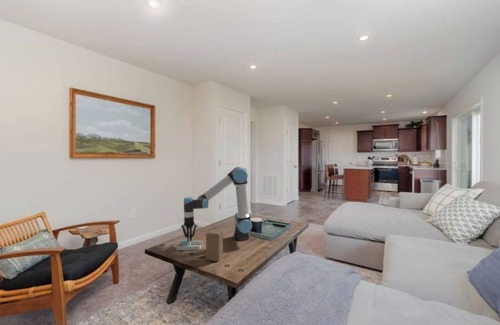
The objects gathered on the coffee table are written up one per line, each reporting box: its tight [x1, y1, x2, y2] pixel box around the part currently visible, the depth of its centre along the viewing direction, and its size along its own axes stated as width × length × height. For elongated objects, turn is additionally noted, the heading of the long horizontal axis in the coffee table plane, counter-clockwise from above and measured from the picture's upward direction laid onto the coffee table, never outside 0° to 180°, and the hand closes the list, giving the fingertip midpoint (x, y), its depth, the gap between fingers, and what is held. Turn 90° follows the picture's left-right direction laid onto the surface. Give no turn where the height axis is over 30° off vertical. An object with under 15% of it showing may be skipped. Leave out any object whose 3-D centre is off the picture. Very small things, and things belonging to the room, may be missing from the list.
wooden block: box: [205, 228, 224, 262], centre depth 166 cm, size 10×10×20 cm
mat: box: [166, 244, 174, 252], centre depth 185 cm, size 8×11×1 cm
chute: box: [175, 240, 204, 251], centre depth 185 cm, size 18×12×4 cm, turn 90°
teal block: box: [179, 239, 189, 246], centre depth 184 cm, size 6×6×5 cm
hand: (189, 245), depth 185 cm, fingers closed
